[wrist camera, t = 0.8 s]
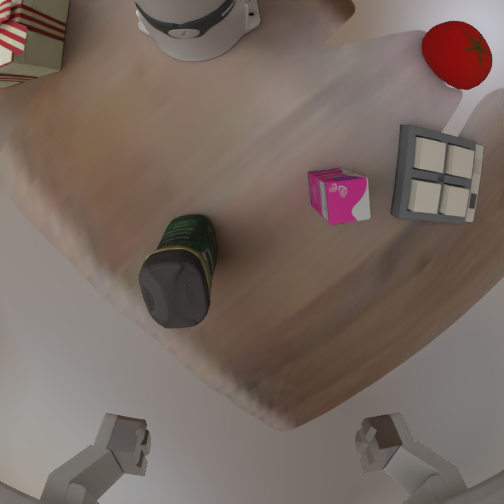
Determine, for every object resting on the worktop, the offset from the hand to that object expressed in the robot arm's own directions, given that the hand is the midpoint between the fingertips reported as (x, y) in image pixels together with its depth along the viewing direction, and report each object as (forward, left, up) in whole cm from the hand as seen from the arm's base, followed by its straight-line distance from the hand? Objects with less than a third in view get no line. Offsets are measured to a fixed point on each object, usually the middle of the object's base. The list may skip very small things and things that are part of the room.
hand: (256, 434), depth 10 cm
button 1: (-3, +37, -39) cm, 54 cm away
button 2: (-10, +37, -39) cm, 54 cm away
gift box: (-28, -38, -41) cm, 63 cm away
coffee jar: (+8, -8, -41) cm, 43 cm away
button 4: (-10, +30, -39) cm, 50 cm away
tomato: (-28, +33, -41) cm, 60 cm away
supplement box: (-2, +13, -41) cm, 44 cm away
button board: (-6, +36, -41) cm, 55 cm away
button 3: (-3, +30, -39) cm, 49 cm away
